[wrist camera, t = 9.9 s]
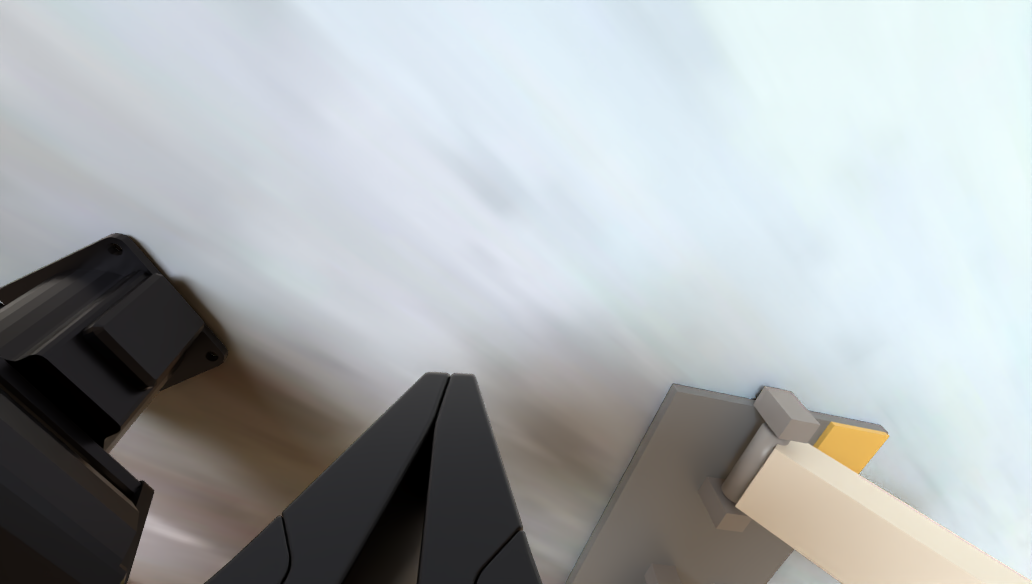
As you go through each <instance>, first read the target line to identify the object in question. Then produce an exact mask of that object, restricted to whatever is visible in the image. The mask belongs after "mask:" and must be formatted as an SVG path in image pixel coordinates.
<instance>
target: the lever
mask: <svg viewBox="0 0 1032 584" xmlns="http://www.w3.org/2000/svg"><path fill="white" fill-rule="evenodd" d="M721 489H722V492H723V493H724V495H725V496H726V497H727V498H728V499H729V500H731V501H732V502H734V503H736V506H735V507H736V508H738V509H739V510H741V511H742V512H743V513H745V514H746V515H748V516H749V517H750V518H752V519H753V520H755V521H756V522H757V523H759V524H760V525H761V526H763V527H764V528H766V529H767V530H768V531H770V532H771V533H773V534H774V535H775V536H777V537H778V538H780V539H781V540H782V541H784V542H785V543H787V544H788V545H789V546H791V547H792V548H793V549H795V550H796V551H798V552H799V553H800V554H802V555H803V556H805V557H806V558H807V559H809V560H810V561H812V562H813V563H814V564H816V565H817V566H818V567H820V568H821V569H823V570H824V571H825V572H827V573H828V574H830V575H831V576H832V577H834V578H835V579H837V580H838V581H839V582H841V583H842V584H1032V581H1031V580H1029V579H1028V578H1026V577H1024V576H1023V575H1021V574H1019V573H1018V572H1016V571H1015V570H1013V569H1011V568H1010V567H1008V566H1006V565H1005V564H1003V563H1002V562H1000V561H998V560H997V559H995V558H993V557H992V556H990V555H989V554H987V553H985V552H984V551H982V550H980V549H979V548H977V547H976V546H974V545H972V544H971V543H969V542H968V541H966V540H964V539H963V538H961V537H959V536H958V535H956V534H955V533H953V532H951V531H950V530H948V529H946V528H945V527H943V526H942V525H940V524H938V523H937V522H935V521H933V520H932V519H930V518H929V517H927V516H925V515H924V514H922V513H920V512H919V511H917V510H916V509H914V508H912V507H911V506H909V505H907V504H906V503H904V502H903V501H901V500H899V499H898V498H896V497H894V496H893V495H891V494H890V493H888V492H886V491H885V490H883V489H881V488H880V487H878V486H877V485H875V484H873V483H872V482H870V481H868V480H867V479H865V478H864V477H862V476H860V475H859V474H857V473H856V472H854V471H852V470H851V469H849V468H847V467H846V466H844V465H843V464H841V463H839V462H838V461H836V460H834V459H833V458H831V457H830V456H828V455H826V454H825V453H823V452H821V451H820V450H818V449H817V448H815V447H813V446H812V445H810V444H808V443H807V444H806V443H801V442H795V441H790V440H784V439H779V438H778V437H777V436H776V435H775V433H774V432H773V431H772V429H771V428H770V427H769V425H768V424H767V423H766V422H764V423H763V424H762V425H761V427H760V428H759V430H758V431H757V433H756V434H755V436H754V437H753V439H752V440H751V442H750V443H749V445H748V446H747V448H746V449H745V451H744V452H743V454H742V455H741V457H740V458H739V460H738V461H737V463H736V464H735V466H734V467H733V469H732V470H731V472H730V473H729V475H728V477H727V478H726V480H725V481H724V483H723V484H722V486H721Z"/></svg>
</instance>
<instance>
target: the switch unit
mask: <svg viewBox="0 0 1032 584" xmlns="http://www.w3.org/2000/svg"><path fill="white" fill-rule="evenodd" d="M764 422H766V423H767V424H768V425H769V427H770V428H771V429H772V431H773V432H774V433H775V435H776V436H777V437H778V438H779V439H784V440H790V441H795V442H801V443H806V444H807V443H808V444H810V445H812V446H813V447H815V448H817V449H818V450H820V451H821V452H823V453H825V454H826V455H828V456H830V457H831V458H833V459H834V460H836V461H838V462H839V463H841V464H843V465H844V466H846V467H847V468H849V469H851V470H852V471H854V472H856V473H857V474H859V473H860V472H861V471H862V469H863V468H864V467H865V466H866V464H867V463H868V462H869V461H870V459H871V458H872V457H873V456H874V455H875V453H876V452H877V451H878V450H879V448H880V447H881V446H882V445H883V444H884V442H885V441H886V440H887V439H888V437H889V435H888V432H887V431H886V430H885V429H884V428H883V427H882V426H881V425H878V424H873V423H868V422H863V421H858V420H853V419H848V418H843V417H838V416H833V415H828V414H822V413H817V412H812V411H808V410H807V409H806V408H805V406H804V405H803V404H802V403H801V402H800V401H799V400H798V398H797V397H796V396H795V395H794V394H793V393H792V392H791V391H786V390H781V389H776V388H771V387H767V386H764V388H763V390H762V391H761V393H760V394H759V396H758V397H757V399H756V400H752V399H747V398H742V397H737V396H732V395H727V394H722V393H717V392H712V391H707V390H702V389H697V388H692V387H687V386H682V385H677V384H672V386H671V388H670V390H669V392H668V394H667V395H666V397H665V399H664V401H663V403H662V405H661V407H660V408H659V410H658V412H657V414H656V416H655V418H654V420H653V421H652V423H651V425H650V427H649V429H648V431H647V433H646V434H645V436H644V438H643V440H642V442H641V444H640V446H639V447H638V449H637V451H636V453H635V455H634V457H633V459H632V460H631V462H630V464H629V466H628V468H627V470H626V472H625V474H624V475H623V477H622V479H621V481H620V483H619V485H618V487H617V488H616V490H615V492H614V494H613V496H612V498H611V500H610V501H609V503H608V505H607V507H606V509H605V511H604V513H603V514H602V516H601V518H600V520H599V522H598V524H597V526H596V527H595V529H594V531H593V533H592V535H591V537H590V539H589V540H588V542H587V544H586V546H585V548H584V550H583V552H582V553H581V555H580V557H579V559H578V561H577V563H576V565H575V566H574V568H573V570H572V572H571V574H570V576H569V578H568V579H567V581H566V583H565V584H766V583H767V582H768V581H769V580H770V579H771V577H772V576H773V575H774V574H775V572H776V571H777V570H778V569H779V567H780V566H781V565H782V564H783V562H784V561H785V560H786V559H787V558H788V556H789V555H790V554H791V553H792V551H793V550H794V549H793V548H792V547H791V546H789V545H788V544H787V543H785V542H784V541H782V540H781V539H780V538H778V537H777V536H775V535H774V534H773V533H771V532H770V531H768V530H767V529H766V528H764V527H763V526H761V525H760V524H759V523H757V522H756V521H755V520H753V519H752V518H750V517H749V516H748V515H746V514H745V513H743V512H742V511H741V510H739V509H738V508H736V507H735V506H736V503H734V502H732V501H731V500H729V499H728V498H727V497H726V496H725V495H724V493H723V492H722V489H721V486H722V484H723V483H724V481H725V480H726V478H727V477H728V475H729V473H730V472H731V470H732V469H733V467H734V466H735V464H736V463H737V461H738V460H739V458H740V457H741V455H742V454H743V452H744V451H745V449H746V448H747V446H748V445H749V443H750V442H751V440H752V439H753V437H754V436H755V434H756V433H757V431H758V430H759V428H760V427H761V425H762V424H763V423H764Z"/></svg>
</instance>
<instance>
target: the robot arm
mask: <svg viewBox="0 0 1032 584" xmlns="http://www.w3.org/2000/svg"><path fill="white" fill-rule="evenodd" d="M114 243H115V244H118V245H119V246H120V247H121V248H122V251H119V250H118V249H116V248H115V246H114ZM0 301H1V302H3V303H4V305H3V304H2V303H0V584H126V583H127V581H128V578H129V575H130V571H131V568H132V565H133V561H134V558H135V555H136V551H137V548H138V545H139V541H140V538H141V535H142V531H143V528H144V525H145V521H146V518H147V514H148V511H149V508H150V504H151V501H152V498H153V494H154V490H153V489H152V488H151V487H150V486H149V485H148V484H147V483H146V482H145V481H143V480H142V481H138V480H137V479H136V478H135V477H134V476H133V475H132V474H131V473H129V472H128V471H127V470H126V469H125V468H124V467H123V466H122V465H121V464H119V463H118V462H117V461H116V460H115V459H114V458H113V457H112V456H111V455H110V454H109V453H110V451H111V450H112V449H113V448H114V446H115V445H116V444H117V443H118V441H119V440H120V439H121V438H122V436H123V435H124V434H125V433H126V431H127V430H128V429H129V428H130V427H131V425H132V424H133V423H134V422H135V420H136V419H137V418H138V417H139V415H140V414H141V413H142V412H143V410H144V409H145V408H146V407H147V405H148V404H149V403H150V402H151V401H152V399H153V398H154V397H155V396H156V394H157V393H158V392H159V391H161V390H163V389H166V388H168V387H170V386H172V385H175V384H177V383H179V382H182V381H184V380H186V379H189V378H191V377H193V376H196V375H198V374H200V373H202V372H205V371H207V370H209V369H212V368H214V367H216V366H219V365H220V364H222V363H223V362H224V360H225V359H226V357H227V355H228V350H227V349H226V347H225V346H224V345H223V344H222V342H221V341H220V340H219V339H218V338H217V337H216V336H215V334H214V333H213V332H212V331H211V330H210V329H209V328H208V326H207V325H206V324H205V323H204V322H203V320H202V319H201V318H200V317H199V316H198V314H197V313H196V312H195V311H194V310H193V309H192V308H191V306H190V305H189V304H188V303H187V302H186V301H185V300H184V298H183V297H182V296H181V295H180V294H179V293H178V292H177V290H176V289H175V288H174V287H173V286H172V285H171V284H170V282H169V281H168V280H167V279H166V278H165V277H164V276H163V275H162V274H161V273H160V272H159V270H158V269H157V268H156V267H155V266H154V265H153V264H152V262H151V261H150V260H149V259H148V258H147V257H146V256H145V255H144V253H143V252H142V251H141V250H140V249H139V248H138V247H137V245H136V244H135V243H134V242H133V241H132V240H131V239H130V238H129V237H128V236H126V235H123V234H119V233H115V234H111V235H109V236H107V237H105V238H102V239H100V240H98V241H96V242H94V243H92V244H90V245H88V246H86V247H84V248H82V249H80V250H77V251H75V252H73V253H71V254H69V255H67V256H65V257H63V258H61V259H59V260H57V261H55V262H52V263H50V264H48V265H46V266H44V267H42V268H40V269H38V270H36V271H34V272H32V273H30V274H27V275H25V276H23V277H21V278H19V279H17V280H15V281H13V282H11V283H9V284H7V285H5V286H2V287H0ZM210 352H214V353H216V354H217V355H218V356H214V355H212V354H211V353H210ZM204 584H542V582H541V579H540V576H539V573H538V570H537V567H536V565H535V562H534V559H533V556H532V553H531V550H530V547H529V544H528V541H527V538H526V534H525V532H524V531H523V526H522V522H521V519H520V516H519V513H518V510H517V506H516V503H515V500H514V497H513V494H512V491H511V487H510V484H509V481H508V478H507V475H506V471H505V468H504V465H503V462H502V459H501V456H500V452H499V449H498V446H497V443H496V440H495V436H494V433H493V430H492V427H491V424H490V421H489V417H488V414H487V411H486V408H485V405H484V401H483V398H482V395H481V392H480V389H479V386H478V382H477V379H476V377H475V375H473V374H462V373H454V374H452V375H451V376H450V375H449V374H448V373H441V372H427V373H425V374H424V375H423V376H422V377H421V378H420V379H419V380H418V381H417V382H416V383H415V384H414V385H413V386H412V387H411V388H409V389H408V390H407V391H406V392H405V393H404V394H403V395H402V396H401V397H400V398H399V399H398V400H397V401H396V402H395V403H394V404H393V405H392V406H391V407H390V408H389V409H388V410H387V411H386V412H385V413H384V414H383V415H382V416H381V417H380V418H379V419H378V420H376V421H375V422H374V423H373V424H372V425H371V426H370V427H369V428H368V429H367V430H366V431H365V432H364V433H363V434H362V435H361V436H360V437H359V438H358V439H357V440H356V441H355V442H354V443H353V444H352V445H351V446H350V447H349V448H348V449H347V450H346V451H345V452H344V453H342V454H341V455H340V456H339V457H338V458H337V459H336V460H335V461H334V462H333V463H332V464H331V465H330V466H329V467H328V468H327V469H326V470H325V471H324V472H323V473H322V474H321V475H320V476H319V477H318V478H317V479H316V480H315V481H314V482H313V483H312V484H311V485H309V486H308V487H307V488H306V489H305V490H304V491H303V492H302V493H301V494H300V495H299V496H298V497H297V498H296V499H295V500H294V501H293V502H292V503H291V504H290V505H289V506H288V507H287V508H286V509H285V510H284V511H283V512H282V516H277V517H276V518H275V519H274V520H273V521H272V522H271V523H270V524H269V525H268V526H267V527H266V528H265V529H264V530H263V531H262V532H261V533H260V534H259V535H258V536H257V537H255V538H254V539H253V540H252V541H251V542H250V543H249V544H248V545H247V546H246V547H245V548H244V549H243V550H241V551H240V552H239V553H238V554H237V555H236V556H235V557H234V558H233V559H232V560H231V561H230V562H229V563H227V564H226V565H225V566H224V567H223V568H222V569H221V570H219V571H218V572H217V573H216V574H215V575H214V576H212V577H211V578H210V579H209V580H208V581H207V582H205V583H204Z"/></svg>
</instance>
